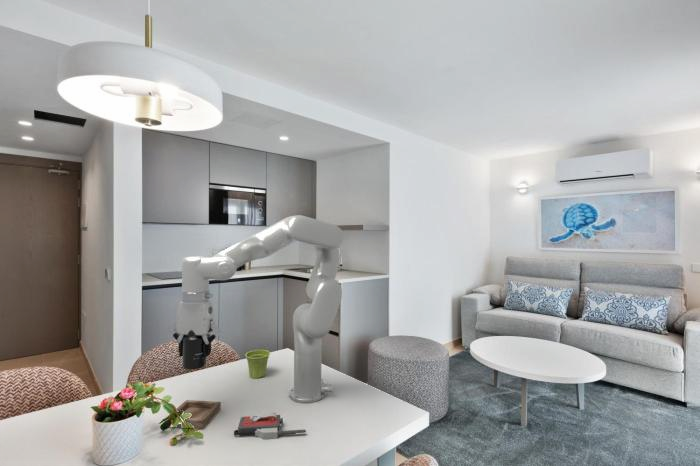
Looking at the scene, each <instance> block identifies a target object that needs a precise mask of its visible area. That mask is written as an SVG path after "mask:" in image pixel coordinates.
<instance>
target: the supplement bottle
mask: <svg viewBox="0 0 700 466" xmlns="http://www.w3.org/2000/svg"><path fill="white" fill-rule="evenodd" d="M188 334H189V335H186V336H185V337H184V338H183V351H182V356H181V357H182V358H181V359H182V362H181V364H182V365H181V366H182V368H183V369H184V370H190V371H191V370H192V371H193V370H199V369H201V368H204V367H206V365H207V359H208V358H207V357H208V356H207V357H206V358H204V357H203V345H204V344H205V342H204V340H203V338H202V336H198V335H196V334H195V333H194V331H193V330H192V331H191V329H190V331H189V333H188Z"/></svg>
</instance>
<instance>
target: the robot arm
mask: <svg viewBox="0 0 700 466" xmlns="http://www.w3.org/2000/svg"><path fill="white" fill-rule="evenodd" d="M343 241H344V233H343V230H342V229H341V228H340V227H339V226H338V225H337V224H334V223H330V222H326V221H323V220H319V219H315V218H312V217H309V216H306V215H300V214H298V215H291V216H287V217H285V218H283V219H282V220H279V221H278V222H275V223H274V224H272V225H270V226H268V227H266V228H265V229H263V230H261V231H259V232H257V233H255V234H252V235H251V236H249V237H247V238H246V239H244V240H241V241H239V242H238V243H236V244H233V245H232V246H229V247H227V248H225V249H224V250H222V251H220V252H218V253H216V254H215V255H213V256H212V257H207V256H204V255H193V256H192V255H190V256H186V257H184V258H183V260H182V264H181V265H182V267H181V269H182V271H181V273H182V274H181V301H180V302H179V305H178V308H177V316H176V322H175V323H174V324H173V325H172V326H171V327H170V328H169V329H168V330H169V333H171V335H173V338H174V339H175V340H176V343H177V344H178V356H179V357H182V351H183V338H184V337H185V336H186V335H189V334H188V333H189V331H190V329H191V331H192V330H193V331H194V333H195V334H196V335H198V336H202V338H203V340H204V342H205V344H204V345H203V357H204V358H206V357H208V356H210V355H211V353H212V342H213V341H214V340H215V339H216V338H217V337H218V336H219V335H220V333H221V332H222V329H221V328H220V327H219V326H218V325H217V324H215V313H214V312H215V311H214V306H213V301H212V300H210V299H212V298H213V297H214V295H213V293H210V280H214V281H227V280H230V279H231V278H233V277H234V276H235V274H236V272H237V269H239V268H240V267H242V266H244V265H246V264H248V263H250V262H253V261H257V260H260V259H261V260H262V259H264V258H268V257H270V256H273V254H276V253H278V252H279V251H280V250H282V249H284V248H286V247H287V246H290V245H292V244H293V243H295V242H301V243H303V244H307V245H310V246H313V247H314V250H315V253H316V259H315V262H314V266H313V268H312V271H311V273H310V276H309V280H308V282H307V285H306V290H305V291H306V292H305V293H306V295H307V296H308V298H309V299H310V300H311V301H312V302H311V303H302V304H300V305H299V306H298V307H296V309H295V310H294V312H293V315H292V328H293V338H294V341H293V342H294V344H293V346H294V348H293V349H294V350H293V352H294V353H293V387H292V388H291V389H289V392H288V393H289V394H288V395H289V396H288V397H289V398H290V399H291V400H293V401H295V402H297V403H302V404H303V403H307V404H308V403H309V404H310V403H315V402H318V401H320V400H323V398H324V397H325V396H326V393H334V388H335V387H334V385H333V386H332V384H331V383H325V382H324V378H322V354H323V353H322V352H323V351H322V349H323V347H322V346H323V345H322V344H323V341H322V338H324V337H326V336H327V335H328V334H329V333H330V331H331V329H332V327H333V324H334V322H335V319H336V316H337V313H338V310H339V307H340V305H341V301H342V297H343V290H342V289H343V288H342V286H341V284H340V283H339V281H338V280H337V279H336V278H337V277H336V276H337V274H338V270H339V267H340V262H341V261H340V260H341V257H340V256H341V255H340V251H339V247H340V246H341V245H342V243H343ZM212 332H213V333H212ZM211 333H212V334H211Z"/></svg>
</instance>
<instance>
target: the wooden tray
mask: <svg viewBox="0 0 700 466" xmlns="http://www.w3.org/2000/svg"><path fill="white" fill-rule="evenodd" d="M221 403H222V402H221V401H212V400H211V401H210V400H195V399H194V400H193V399H191V400H190V399H187V400H185V401H183V402H182V404H179V406H178V407H177V408H175V410H177V411H180V410H183V411H184V414H185V413H191V414H192V416H191V417H190V418H187V419H185V421H186V422H188V423H191V424H192V425H193V426H194V428H195V429H194V430H201V431H203V430H204V429H205V428H206V427H207V425H208V424H210V422H211V421H212V420H213V419H214V418H215V417H216V415H218V414H219V412H220V411H221V410H222V407H221V406H222V404H221ZM168 416H169V415H167V416H166V417H165V418H164V420H165V419H166V418H167V417H168ZM175 429H182V428H181V424H178V425H177V427H176V428H175Z"/></svg>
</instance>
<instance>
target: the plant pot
mask: <svg viewBox="0 0 700 466" xmlns="http://www.w3.org/2000/svg"><path fill="white" fill-rule="evenodd" d="M270 355H271V352H270V351H269V350H267V349H266V350H265V349H254V350H250V351H247V352H246V353H245V355H244V356H245V357H246V360H247V367H248V373H249V377H251V379H260V378H264V377H265V376H267V375H266V372H267V368H268V367H267V365H268V361H269V360H268V359H269V358H270V357H269V356H270Z"/></svg>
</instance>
